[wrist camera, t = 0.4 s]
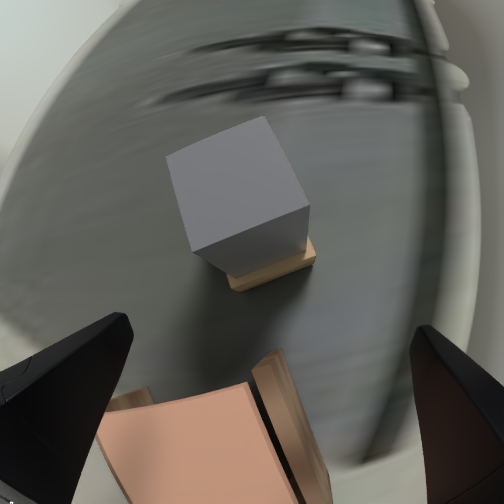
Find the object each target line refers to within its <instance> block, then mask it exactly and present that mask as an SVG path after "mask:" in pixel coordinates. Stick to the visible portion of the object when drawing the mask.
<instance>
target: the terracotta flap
mask: <svg viewBox="0 0 504 504" xmlns="http://www.w3.org/2000/svg"><path fill="white" fill-rule="evenodd" d="M97 434H98V437H99V439H100V441H101V444H102V446H103V448H104V450H105V452H106V454H107V457H108V459H109V461H110V463H111V465H112V467H113V469H114V471H115V473H116V474H117V476H118V478H119V480H120V482H121V484H122V485H123V487H124V489H125V491H126V492H127V494H128V496H129V498H130V499H131V501H132V503H133V504H299V503H298V500H297V498H296V496H295V494H294V492H293V490H292V488H291V485H290V483H289V481H288V479H287V477H286V474H285V472H284V470H283V468H282V465H281V463H280V461H279V458H278V456H277V454H276V452H275V449H274V447H273V445H272V442H271V440H270V437H269V435H268V433H267V430H266V428H265V425H264V423H263V421H262V418H261V416H260V413H259V411H258V408H257V406H256V403H255V401H254V398H253V396H252V393H251V390H250V388H249V385H248V383H247V382H244V383H241V384H238V385H234V386H231V387H227V388H223V389H220V390H216V391H212V392H209V393H205V394H201V395H197V396H192V397H188V398H184V399H179V400H175V401H170V402H165V403H160V404H155V405H150V406H145V407H139V408H133V409H127V410H120V411H113V412H105V413H104V416H103V418H102V421H101V423H100V425H99V428H98V430H97Z"/></svg>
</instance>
